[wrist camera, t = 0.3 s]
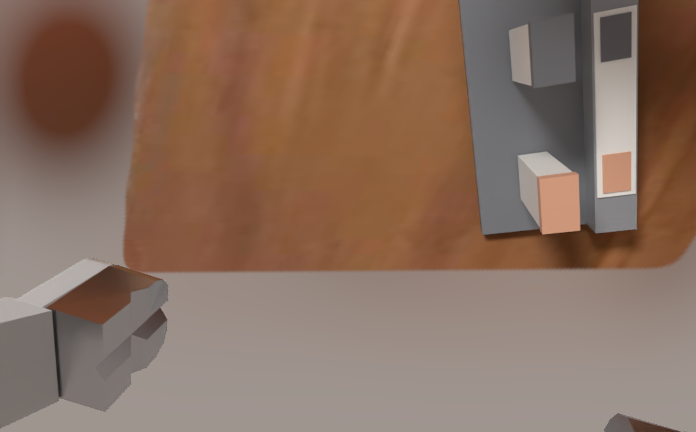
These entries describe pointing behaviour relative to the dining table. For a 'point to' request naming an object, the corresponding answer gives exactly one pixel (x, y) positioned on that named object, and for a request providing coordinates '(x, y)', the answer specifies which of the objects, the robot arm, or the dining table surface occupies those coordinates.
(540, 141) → the key console
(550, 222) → the terracotta key
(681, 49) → the dining table surface
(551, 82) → the charcoal key
